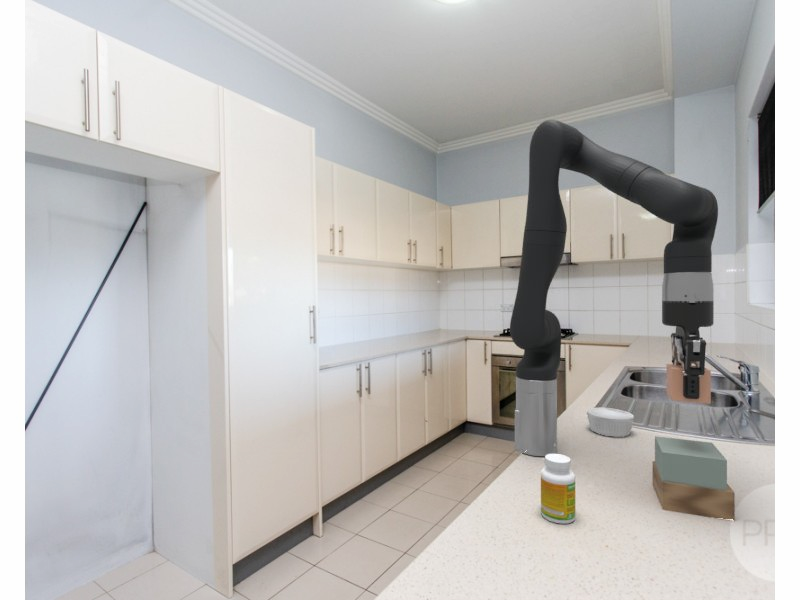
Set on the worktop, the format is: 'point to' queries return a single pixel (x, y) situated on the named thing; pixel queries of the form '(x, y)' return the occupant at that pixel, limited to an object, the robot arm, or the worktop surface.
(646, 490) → the worktop surface
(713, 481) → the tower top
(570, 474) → the supplement bottle
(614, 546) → the worktop surface
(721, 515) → the tower base
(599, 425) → the ramekin
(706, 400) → the terracotta cube
